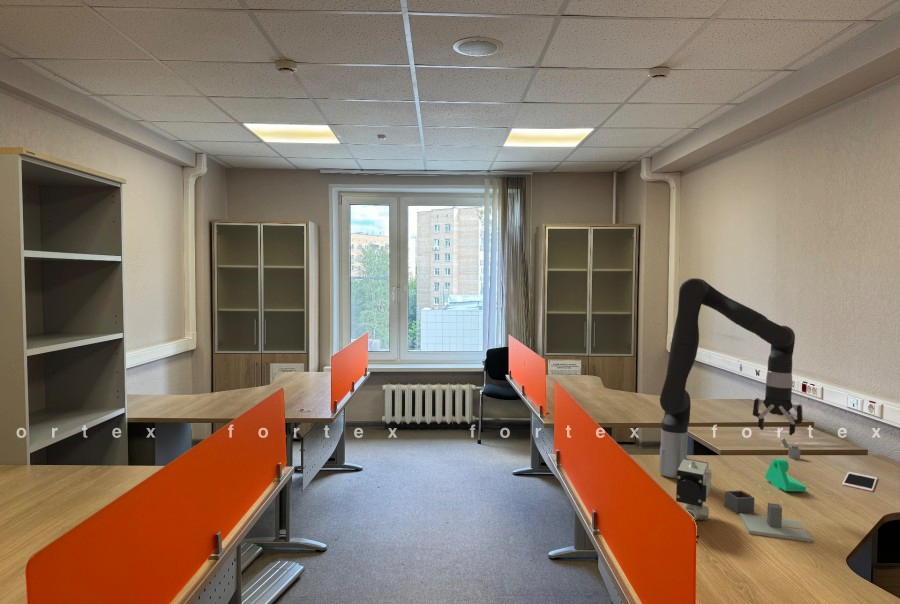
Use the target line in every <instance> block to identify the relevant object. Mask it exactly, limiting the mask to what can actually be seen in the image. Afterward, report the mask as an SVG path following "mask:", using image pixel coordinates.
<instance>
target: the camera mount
mask: <svg viewBox="0 0 900 604" xmlns="http://www.w3.org/2000/svg"><path fill="white" fill-rule="evenodd" d="M789 467H790V466H789V463H788V461H787V460H786V459H785V458H774V459H772V461H771V463H770V465H769V467H768V468H767V470H766V472H765V476H764V478H765V480H767V481H769V482H770V485H771V486H773V487H774V488H776V489H777V490H780V491H781V490H783V491H785V492H806V491H807V486H806V485H805V484H803V483H801V482H799V481H798V480H796V479H794V478H792V477H791V476H789V475H788V474H787V472H788V471H789V470H790V469H789Z"/></svg>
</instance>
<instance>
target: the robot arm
mask: <svg viewBox="0 0 900 604" xmlns="http://www.w3.org/2000/svg"><path fill="white" fill-rule="evenodd" d="M677 303H678V307H677V315H676V318H675V323H674V328H673V333H672V337H671V343H670V346H669V347H670V348H669V353H668V354H669V355H668V363H667V369H666V376H665V380H664V383H663V386H662V389H661V392H660V396H659V404H660V407H661V409H662V410H663V411H664V414H663V418H662V420H661V429H660V430H661V431H660V432H661V433H660V434H661V435H660V446H659V469H658V470H659V474H660V476H661V477H666V478H671V479H677V470H678V469H679V467H680V465H681V463H682V461H683V460H684V458H685V459H688V457H687V456H688V431H689V430H688V427H689V424H690V421H691V420H690V419H691V417H690V416H691V405H692V404H691V402H692V401H691V396H690V394H689V392H688V391H687V390H686V384H687V381H688V377H689V376H690V373H691V371H692V368H693V366H694V363H695V361H696V358H697V354H698V349H699V343H700V331H699V329H700V328H699V315H700V311H701V308H702V305H703V306H706V307H709V308H710V309H713V310H714V311H716V312H718V313H720V314H721V315H723V316H724V317H726V318H727V319H728V320H730V322H733V323H734V324H735V325H737V326H739V327H741V328H742V329H744V330H746V331H748V332H749V333H753V334H754V335H756V336H757V337H759V338H760V339H762V341H765V342H766V343H768V344H769V345H770V353H769V356H768V360H767V372H766V378H765V393H764V394H765V396H764V399H762V398H761V399H760V398H759V397H757V398H754V402H753V410H752V416H754V417H756V418H758V422H757V423H758V424H757V425H758V426H757V427H758V428H759V430H761V431H763V430H764V427H765V416H766V415H768V413H770V414H771V415H778V416H784V417H785V419H787V420H788V421H789V431H788V432H789V433H788V435H789V436H793V435H794V434H795V433H796V425H797V424H802V422H803V405H802V404H793V402H792V396H793V395H792V394H793V393H792V391H793V384H794V383H793V355H794V354H793V353H794V349H795V344H796V343H795V341H796V334H795V332H794V330H793V329H792V328H791V327H789V326H787V325H780V324H778V323H776V322H774V321H772V320H769V319H768V317H767V316H765V315H764V314H762V313H760V312H758V311H757V310H754V309H752V308H751V307H748V306H746V305H744V304H742V303H741V302H739V301H736V300H735V299H733V298H730V297H729V296H727V295H725V294H723V293H722V292H720V291H719V290H718V289H716V288H715V287H713V286H712V285H711V284H710V283H708V282H707V281H706V280H704V279H702V278H688V279H686V280H684V281H683V282H682V283H681V285H680V287H679V291H678V302H677ZM762 404H763V405H764V407H765V410H763V411H762V413H760V412H759V409H760V406H761V405H762ZM792 409H794V411H795V412H796V419H795V417H794V416H793V414H792V413H791V411H790V410H792Z"/></svg>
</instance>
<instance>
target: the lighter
mask: <svg viewBox="0 0 900 604" xmlns="http://www.w3.org/2000/svg"><path fill="white" fill-rule="evenodd" d="M780 441H781V443H782V444H783V446H784V448H785V449H788V453H787V454H788V457H790V458H789V459H794V460H800V459H801V448H800V447H799V446H798V445H795V444H792V445H791V446H789V445H788V442H787V440H786V438H785V437H781V438H780Z"/></svg>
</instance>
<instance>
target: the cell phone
mask: <svg viewBox="0 0 900 604" xmlns="http://www.w3.org/2000/svg"><path fill="white" fill-rule="evenodd" d="M877 481H878V477H876V476H872V475H868V474H867V475H866V474H862V473H857V472H853V471H847V473H846V476H845V477H844V479H843V481H842V483H841V485H842V486H843V487H847V488H853V489H857V490H861V491H864V492H865V491H866V492H871V493H873V492H874V490H875V486H876V483H877Z"/></svg>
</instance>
